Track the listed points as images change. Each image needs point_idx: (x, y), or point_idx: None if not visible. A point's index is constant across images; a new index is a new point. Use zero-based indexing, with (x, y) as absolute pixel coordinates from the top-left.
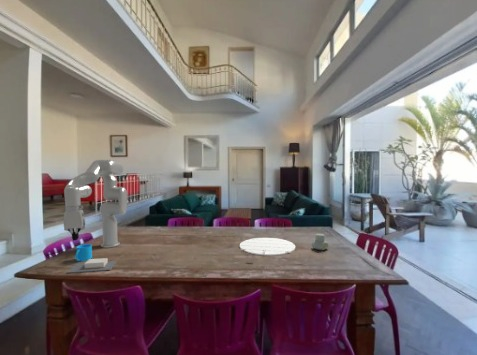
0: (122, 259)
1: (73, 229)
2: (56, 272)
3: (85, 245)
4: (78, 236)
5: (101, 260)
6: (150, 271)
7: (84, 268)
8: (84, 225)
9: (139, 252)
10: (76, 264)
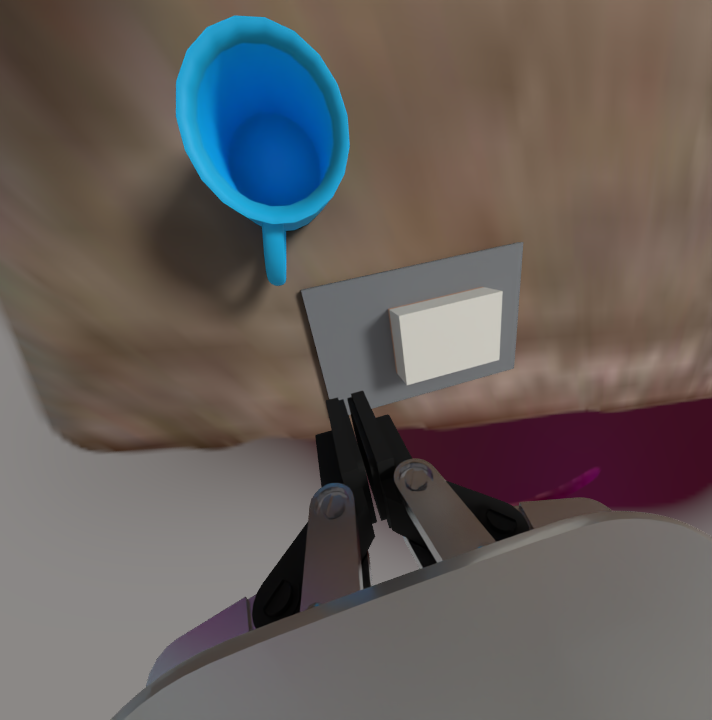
0: (541, 200)
1: (348, 564)
2: (269, 412)
3: (240, 54)
4: (394, 430)
5: (480, 334)
6: (649, 360)
7: (392, 368)
8: (655, 528)
9: (641, 15)
10: (310, 316)
